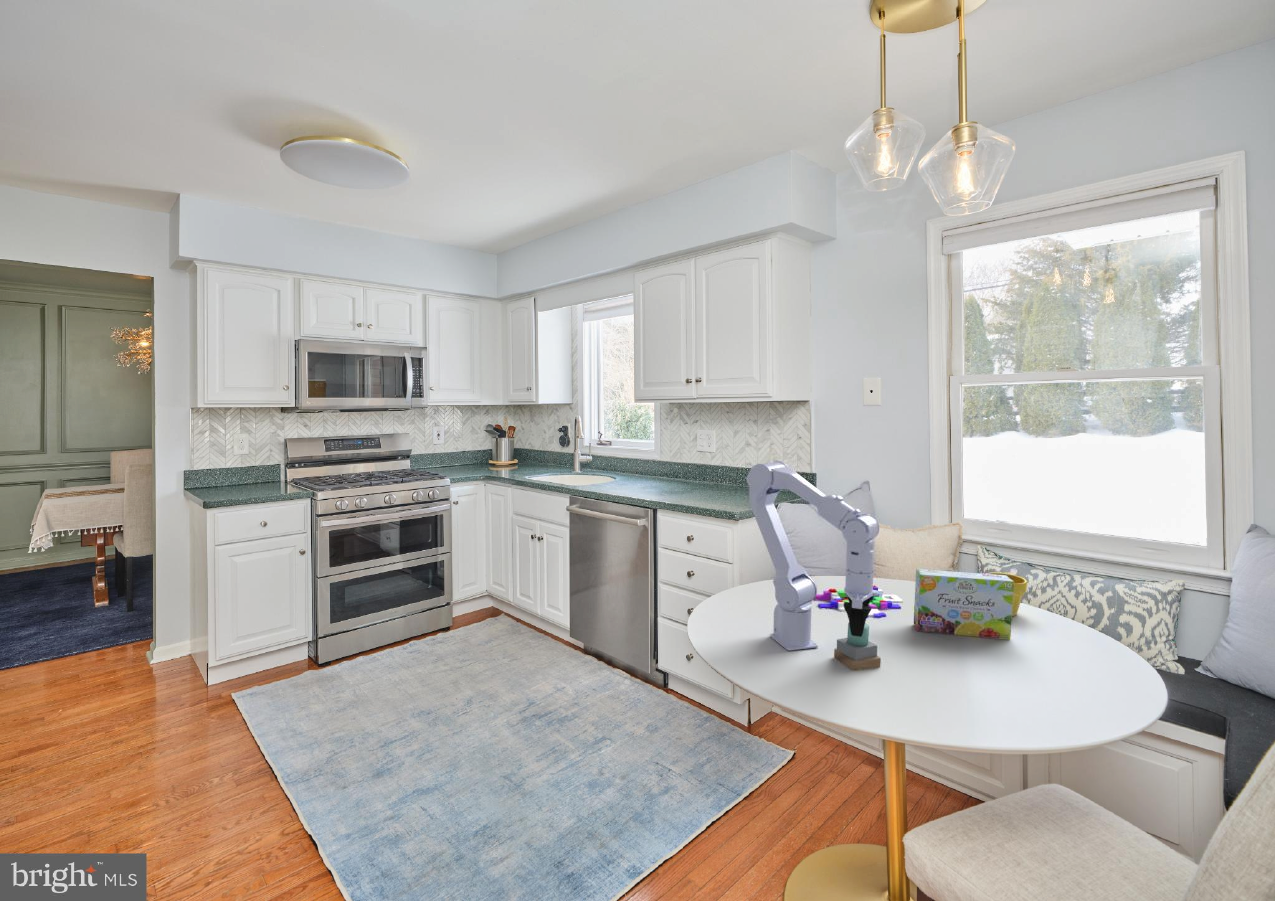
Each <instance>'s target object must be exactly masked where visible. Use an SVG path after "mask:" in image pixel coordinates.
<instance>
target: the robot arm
mask: <svg viewBox="0 0 1275 901" xmlns="http://www.w3.org/2000/svg"><path fill="white" fill-rule="evenodd" d="M745 480H746V482H747V485H748V489H749V492H748V493H749V495H748V496H749V498H748V500H749V505H750V508H751V511H752V513H753V516H754V518H755V521H756V523H757V526H758V529H759V531H760V534H761V536H762V539H763V541H764V544H765V547H766V550H767V552H768V554H769V556H770V559H771V562H772V565H773V567H774V570H775V574H774V577H773V580H772V584H773V587H774V591H775V592H774V593H775V594H774V595H775V600H776V602H777V604H776V606H775V607H774V609H773V628H772V629H773V630H772V631H773V633H769V636H770V637H771V638H772V639H773V640H774V641H776V642H777V643H778V644H780V646H782V648H784V649H785V650H786V651H797V650H804V649H805V650H806V649H814V648H815V649H816V648H819V645H818V644H817V643H816V642H815V641H813V640H812V639H811V637H812V608H813V607H812V605H813V604H812V603H813V600H814V598H815V597H816V595H817V594H818V588H817V587H818V586H817V584H816V582H815V581H814V580H813V579H812V577H810V575H809V573H808V571H807V569H806V568H804V567H803V566H802V565H800V564H799V563H798V561H797V558H796V555H795V553H794V551H793V548H792V546H791V543H790V540H789V538H788V536H787V534H786V531H785V528H784V526H783V524H782V521H781V519H780V518H781V517H780V515H779V513H778V511H777V508H776V506H775V504H774V503H775V500H776V498H777V496H778V494H779V493H780V492H781V491H782V490H788V491H791V492H792V493H794V494H795V495H797V496H798V497H800V498H802V499H803V500H804V501H806V502H808V503H810V504H811V505H813V507H816V509H817V514H818V516H819V517H821V518H822V519H824V520H825V521H826V522H828V523H829V524H830V525H832V526H833V527H835V528H836V529H837V530H838V531H840V532H842V536H843V538H844V540H845V541H846V555H845V558H846V559H845V585H844V586H845V587H844V589H843V591H844V592H845V593H846V595H847V597H848V599H849V602H844V609H845V611H844V612H846V615H847V618H848V619H847V620H848V623H849V624H850V630H851V634H852V636H859V637H862V634H863V631H864V626H865V623H866V621H867V619H868V618H867V616H868V614H869V613H870V611H871V608H872V607H870V606H868V605H869V603H870V602H872V601H871V599H872V598H873V596H878V591H877V590H873V585H874V564H875V539H876V537H877V536H878V535H879V533H880V526H879V522H878V520H877V519H876V518H874V516H873V515H872V514H869V513H861V512H862V511H861V510H860V509H858V508H856V509H855V508H854V507H852V506H851V505H849V504H847V503H846V502H845V501H844V497H843V496H841V495H835V494H830V495H826V494H824V493H823V492H822V491H820V490H819V489H818V488H817V487H816V486H814V484H812V483H810V482H809V481H808V480H806V479H805V478H804V477H803V476H801V475H800V474H799V473H797V472H796V470H795V469H794V468H793V467H791V466H788V465H787V464H786V463H785V462H783V461H780V460H777V461H772V462H769V463H757V464H754V465H752V467H751V468H750V470H749V472H748V474H747V476H746V478H745Z"/></svg>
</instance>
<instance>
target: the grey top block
mask: <svg viewBox="0 0 1275 901" xmlns="http://www.w3.org/2000/svg"><path fill="white" fill-rule="evenodd" d="M836 649H837V651H839V652H841V653H842V654H844V655H846V656H848V657H850V658H851V659H853V660H855V661H857V660H862V659H867V658H872V657H876V656H878V645H877V644H875V643H874V642H871V641H870V640H868V645H867V646H864V647H858V646H854V645H851V644H849V643H848V642H847V637H844V638H838V639H836Z"/></svg>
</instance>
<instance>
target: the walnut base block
mask: <svg viewBox="0 0 1275 901" xmlns="http://www.w3.org/2000/svg"><path fill="white" fill-rule="evenodd" d="M833 652H834V653H833V654H834V655H833V657H834V659H836V660H837V661H838V662H840V663H841V664H842V663H843V664H842V665H844V666H845V667H846V668H848V670H849V669H850V670H851V671H852V670H854V671H860V670H859V669H862V670H866V669H875V668H881V663H882V662H881V657H879V656H878V655H877V656H876V657H872V658H867V659H862V660H857V661H855V660H853V659H851V658H850V657H848V656H846V655H844V654H842V653H841V652H839V651H837V648H834V650H833Z"/></svg>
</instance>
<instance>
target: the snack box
mask: <svg viewBox="0 0 1275 901" xmlns="http://www.w3.org/2000/svg"><path fill="white" fill-rule="evenodd" d="M914 590H915V591H914V606H913V625H914V627H915V629H916V631H917V632H924V633H925V632H926V633H936V634H946V635H956V636H966V637H967V636H968V637H976V638H977V637H978V638H987V639H995V640H996V639H998V640H1006V641H1007V640H1011V637H1012V636H1011V633H1012V620H1013V619H1012V618H1013V616H1012V609H1013V595H1014V581H1013V580H1011V579H1010V578H1009V577H1008V576H1006V575H994V574H986V573H978V572H977V573H976V572H966V571H965V572H963V571H948V570H934V569H922V568H916V570H915V587H914Z"/></svg>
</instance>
